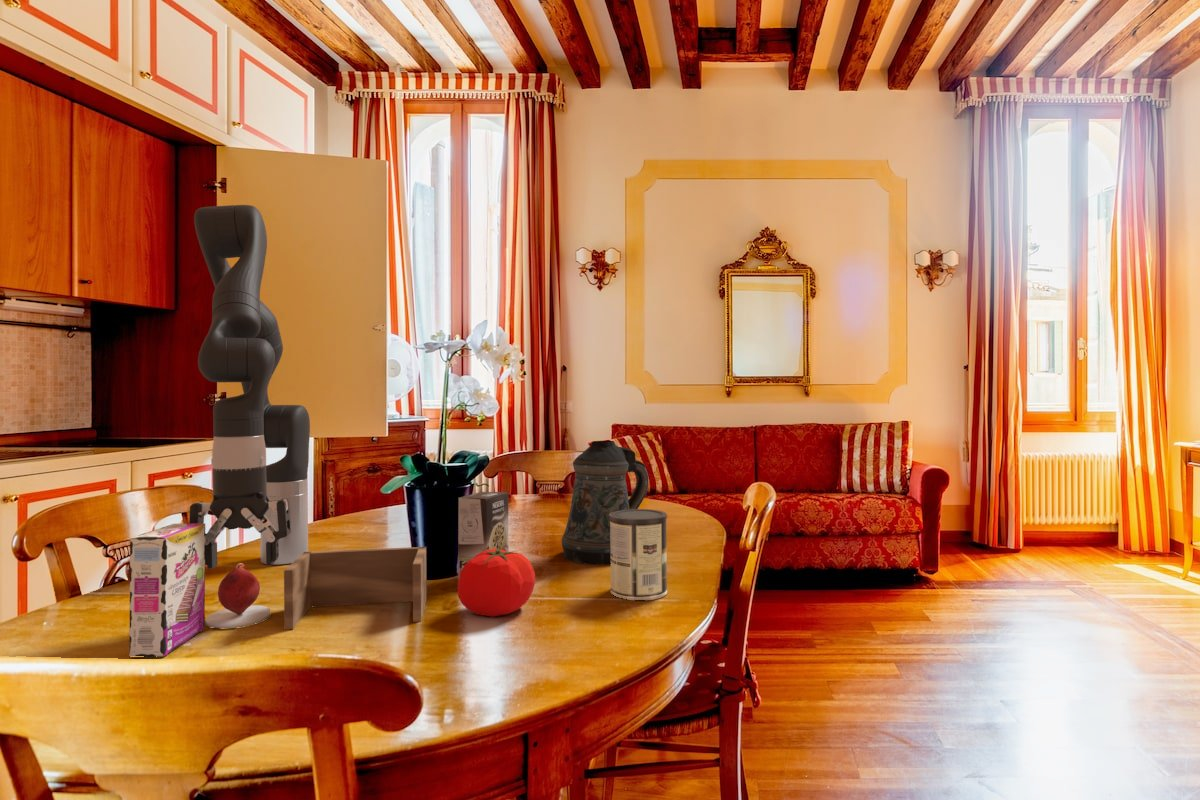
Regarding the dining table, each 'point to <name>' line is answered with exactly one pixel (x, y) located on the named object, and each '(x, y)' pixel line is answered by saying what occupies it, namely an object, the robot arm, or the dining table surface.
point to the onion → (238, 589)
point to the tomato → (496, 582)
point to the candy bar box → (166, 588)
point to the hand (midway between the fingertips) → (241, 565)
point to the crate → (355, 580)
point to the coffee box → (481, 524)
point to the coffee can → (638, 554)
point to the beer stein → (600, 499)
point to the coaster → (238, 617)
